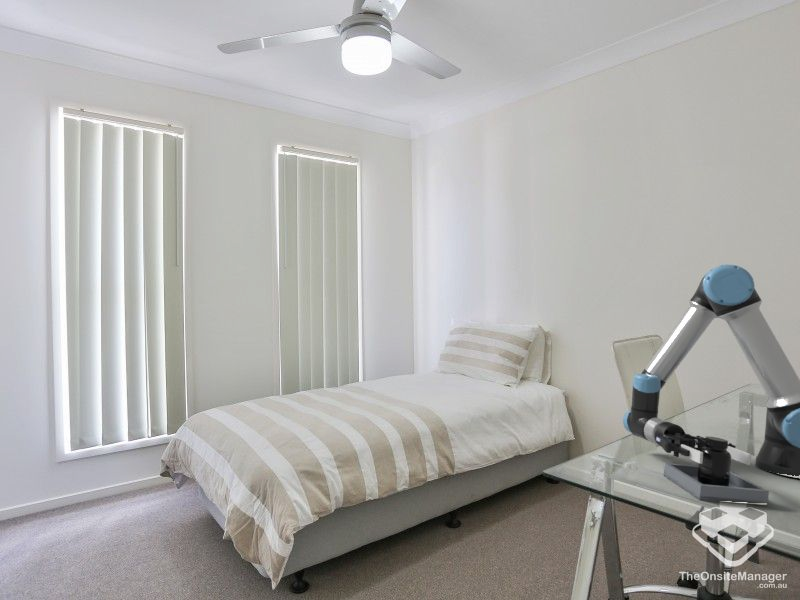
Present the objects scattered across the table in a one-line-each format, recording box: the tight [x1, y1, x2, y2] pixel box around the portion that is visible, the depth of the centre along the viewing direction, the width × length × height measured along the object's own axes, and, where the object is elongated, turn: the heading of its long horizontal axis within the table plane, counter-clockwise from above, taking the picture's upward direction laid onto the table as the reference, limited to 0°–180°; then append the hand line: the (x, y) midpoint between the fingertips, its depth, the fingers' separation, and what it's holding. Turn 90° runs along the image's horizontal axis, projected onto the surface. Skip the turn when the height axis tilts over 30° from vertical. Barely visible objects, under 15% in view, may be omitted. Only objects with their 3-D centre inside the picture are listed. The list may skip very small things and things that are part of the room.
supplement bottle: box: [697, 436, 732, 486], centre depth 123 cm, size 7×7×12 cm
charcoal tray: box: [663, 462, 769, 503], centre depth 123 cm, size 16×16×4 cm
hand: (725, 458), depth 119 cm, fingers open, 13 cm apart
